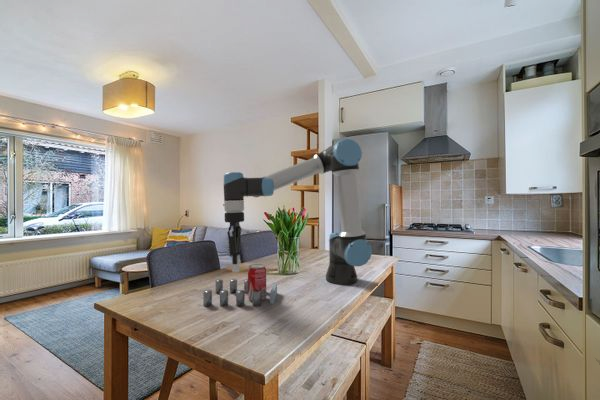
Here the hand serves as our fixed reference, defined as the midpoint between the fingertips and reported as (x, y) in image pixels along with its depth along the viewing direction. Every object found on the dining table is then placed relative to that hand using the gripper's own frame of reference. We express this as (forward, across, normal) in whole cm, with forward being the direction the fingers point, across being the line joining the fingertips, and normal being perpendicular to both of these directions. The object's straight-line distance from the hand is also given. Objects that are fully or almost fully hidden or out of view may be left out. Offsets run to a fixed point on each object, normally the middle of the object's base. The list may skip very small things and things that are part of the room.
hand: (235, 271), depth 106 cm
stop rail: (+11, 0, +15) cm, 18 cm away
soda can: (+11, +1, +8) cm, 14 cm away
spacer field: (+10, 0, 0) cm, 10 cm away
